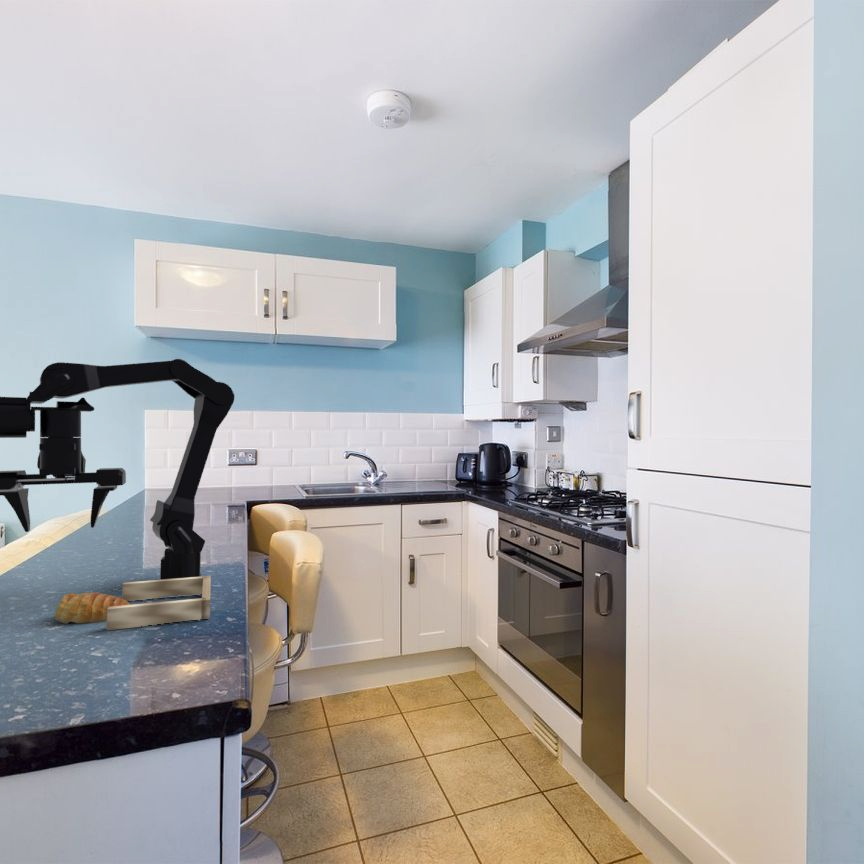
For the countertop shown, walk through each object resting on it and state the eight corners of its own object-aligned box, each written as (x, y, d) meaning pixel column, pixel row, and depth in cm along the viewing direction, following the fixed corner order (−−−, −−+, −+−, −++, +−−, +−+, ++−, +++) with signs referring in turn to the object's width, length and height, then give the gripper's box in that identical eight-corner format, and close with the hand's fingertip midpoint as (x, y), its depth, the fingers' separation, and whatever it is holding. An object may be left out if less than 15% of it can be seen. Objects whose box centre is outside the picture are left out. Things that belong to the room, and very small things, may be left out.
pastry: (135, 609, 85) (136, 585, 85) (119, 624, 78) (120, 598, 78) (71, 612, 83) (71, 588, 83) (49, 627, 76) (49, 601, 76)
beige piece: (210, 592, 94) (210, 575, 94) (209, 619, 80) (210, 599, 80) (123, 600, 89) (123, 582, 89) (106, 630, 75) (107, 609, 75)
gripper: (129, 437, 100) (128, 518, 100) (7, 437, 93) (7, 526, 92) (122, 437, 90) (122, 528, 90) (-15, 438, 82) (-15, 537, 82)
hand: (60, 529), depth 89 cm, fingers open, 9 cm apart
